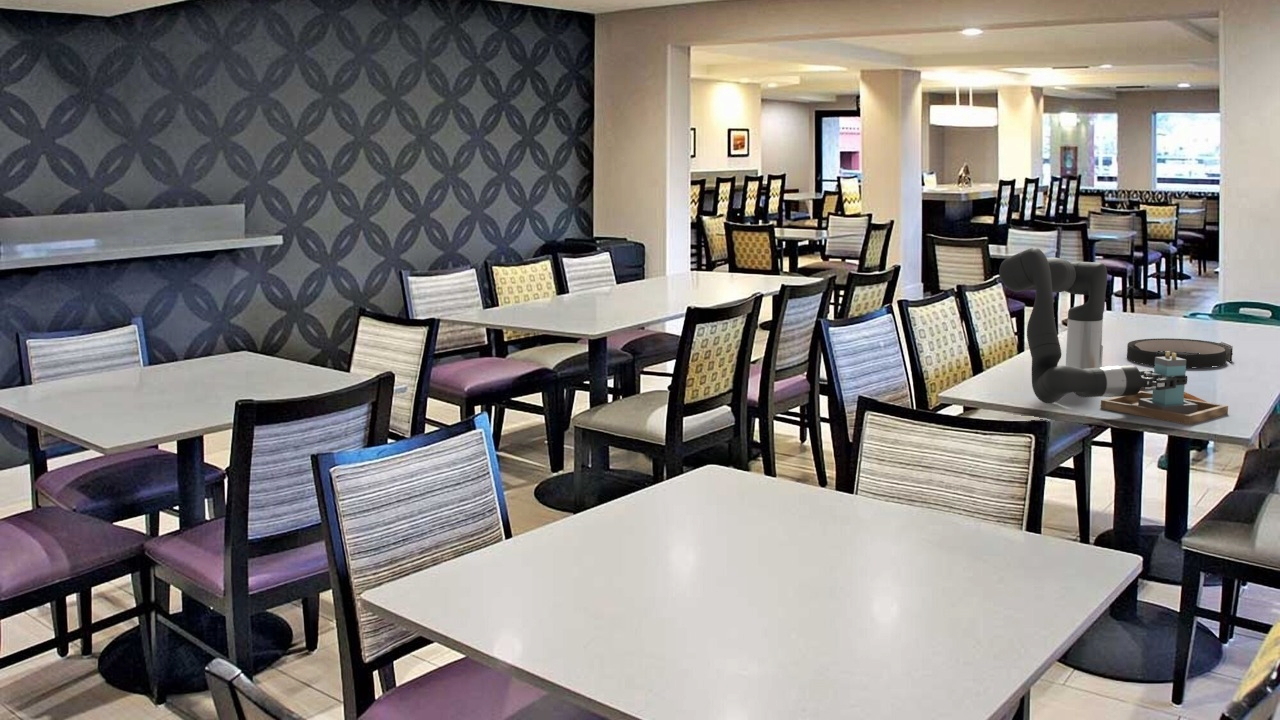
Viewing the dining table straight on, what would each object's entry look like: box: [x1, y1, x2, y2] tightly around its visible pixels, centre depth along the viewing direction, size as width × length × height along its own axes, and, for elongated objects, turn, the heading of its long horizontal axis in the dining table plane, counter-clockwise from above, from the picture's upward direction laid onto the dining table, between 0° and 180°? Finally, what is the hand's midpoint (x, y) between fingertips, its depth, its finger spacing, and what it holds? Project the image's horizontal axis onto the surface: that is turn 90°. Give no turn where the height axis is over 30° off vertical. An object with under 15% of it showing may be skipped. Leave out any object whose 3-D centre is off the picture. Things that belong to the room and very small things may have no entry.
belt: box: [1126, 338, 1234, 369], centre depth 350 cm, size 29×30×5 cm
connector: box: [1152, 351, 1187, 405], centre depth 280 cm, size 5×5×14 cm
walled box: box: [1100, 390, 1229, 426], centre depth 282 cm, size 17×23×2 cm
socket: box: [1138, 398, 1198, 415], centre depth 281 cm, size 10×10×2 cm
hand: (1178, 377), depth 280 cm, fingers closed on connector, 5 cm apart
